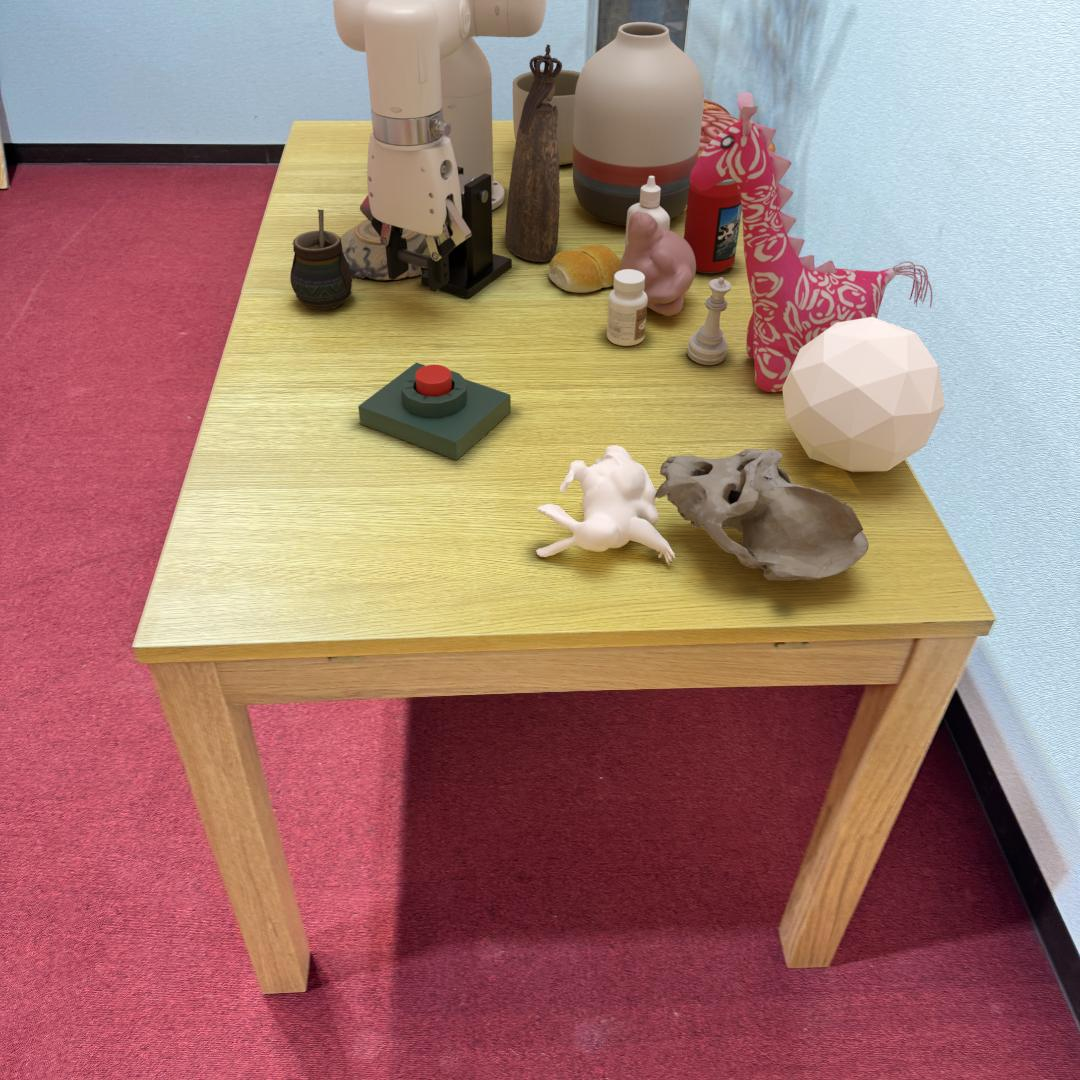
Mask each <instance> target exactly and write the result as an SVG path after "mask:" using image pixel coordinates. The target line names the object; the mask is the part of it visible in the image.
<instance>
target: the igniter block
mask: <svg viewBox="0 0 1080 1080" xmlns="http://www.w3.org/2000/svg"><path fill="white" fill-rule="evenodd" d="M424 366H426V365H425V364H423V363H419V362H415V363H413V364H412V365H411V366H409V367H407V368H406V369H405V370H404V371H403V372H402V373H400V374H398V375H397V376H396V377H395V378H394V379H392V380H391V381H390V382H388V383H387V384H386V385H384V386H383V387H381V388H380V389H379V390H378V391H376V392H375V393H373V394H372V395H371V396H370V397H369V398H367V399H366V400H365V401H363V402H362V403H360V404H359V405H358V406H357V407H358V416H359V424H360V425H362V426H365V427H368V428H370V429H373V430H376V431H379V432H381V433H383V434H386V435H389V436H391V437H394V438H397V439H399V440H402V441H405V442H407V443H410V444H413V445H416V446H418V447H420V448H424V449H426V450H428V451H431V452H433V453H436V454H439V455H442V456H445V457H447V458H449V459H451V460H454V461H457V460H459V459H460V458H461V457H463V455H465V453H467V451H469V450H470V449H471V448H473V446H474V445H475V444H477V443H478V442H479V441H480V440H481V439H482V438H483V437H484V436H486V435H487V434H488V433H489V432H490V431H491V430H492V429H494V428H495V427H496V426H497V425H498V424H499V423H500V422H501V421H503V420H504V418H506V417H507V416H508V415H509V414H511V413H512V409H511V407H512V406H511V404H512V403H511V402H512V401H511V399H512V397H511V394H509V393H507V392H504V391H501V390H498V389H495V388H492V387H490V386H487V385H484V384H481V383H478V382H475V381H472V380H469V379H466V378H465V377H463V375H462V374H461V373H460V372H457V371H453V370H451V369H449V370H450V371H451V377H452V390H451V391H450V392H449V393H448V394H445V395H442V396H438V397H433V396H424V395H421V394H419V393H418V392H417V389H416V377H415V374H416V372H417V370H418V369H420V368H422V367H424Z"/></svg>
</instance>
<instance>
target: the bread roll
mask: <svg viewBox="0 0 1080 1080" xmlns="http://www.w3.org/2000/svg"><path fill="white" fill-rule="evenodd" d="M621 262H622V261H621V259H620V258H619V256H618V255H617V254H616V253H615V252H614V251H613V250H612V249H611V248H608V247H606V246H605V245H599V244H597V245H595V244H594V245H591V244H590V245H583V246H578V247H576V248H575V249H573V250H572V249H570V250H563V251H559V252H556V255H555V256H554V257H553V259H551V260H550V262H549V264H548V277H549V279H550V280H551V281H552V282H553V283H554V285H556V286H557V287H558V288H559V289H562V290H564V291H565V292H568V293H569V292H570V293H582V294H583V293H591V292H595V291H599V290H601V289H602V288H606V289H607V288H610V287H614V285H613V283H614V275H615V273H616V272H618V271H620V270H621Z"/></svg>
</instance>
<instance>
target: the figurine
mask: <svg viewBox="0 0 1080 1080" xmlns="http://www.w3.org/2000/svg"><path fill="white" fill-rule="evenodd" d="M657 226H658V224H657V222H656V220H655V219H654V218H653V217H652V216H651V215H649V214H648V213H643V212H639V211H638V212H635V213H633V214H632V216H631V217H630V221H629V226H628V242H629V243H628V245H627V248H626V250H625V249H624V251H623V254H622V258H621V261H620V262H621V270H625V269H632V270H637V271H640V272H642V273H643V274H644V276H645V286H644V290H643V291H644V292H645V293H646V294H647V297H648V302H647V309H650V310H652V311H654V312H656V313H657V314H660V315H663V316H665V317H670V316H675V315H677V314H678V313H680V312H681V311H682V309H683V308H684V302H685V297H686V294H687V292H688V291H689V290H690V289H691V286H692V284H693V282H694V280H695V276H696V272H697V271H696V261H695V256H694V253H693V250H692V248H691V247H690V245H689V244H688V242H687V241H686V240H685V239H684V236H681V235H680V234H679V233H677V232H675V231H673V230H671V229H670V230H666V229H659V228H658V227H657Z"/></svg>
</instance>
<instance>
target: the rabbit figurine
mask: <svg viewBox="0 0 1080 1080" xmlns="http://www.w3.org/2000/svg"><path fill="white" fill-rule="evenodd" d="M574 480H577V481H578V482H579V483H580V489H581V492H582V494H583V496H581V502H580V506H581V508H582V513H583V521H579V520H578V521H577V520H576V519H575V518H573V517H571V516H570V515H569V514H568V513H567V512H566V511H565V510H564V509H563V508H562V507H561V506H559V505H557V504H554V503H547V504H542V505H539V506H538V507H536V511H538V512H539V513H541V514H542V515H544V516H545V517H547V518H549V519H550V520H552V521H553V522H554V523H555V524H557V525H559V526H560V527H562V528H564V529H566V530H568V531H570V532H571V533H572V536H569V537H565V538H563V539H560V540H558V541H556V542H553V543H552V544H549V545H547V546H544V547H539V548H537V549H536V551H535V552H536V555H538V557H541V558H547V557H551V556H552V557H553V556H554V555H556V554H558V553H561V552H564V551H566V550H568V549H571V548H573V547H574V548H575V547H578V548H580V549H583V550H587V551H590V552H597V553H598V552H599V553H600V552H605V551H608V550H609V549H619V548H623V546H625V545H627V544H628V543H629V542H630V541H631V542H635V543H638V544H641V545H644V546H646V547H648V548H650V549H652V550H654V551H655V552H656V553H659V554H658V556H657V557H658V559H661V558H662V557H663V556H664V559H665V562H666V563H667V564H668V565H671V564H670V562H671V563H673V559H676V556H675V555H676V554H675V552H674V551H673V549H672V548H671V546H670V543H669V542H668V541H667V540H666V539H665V538H664V537H663V535H661V533H660V532H659V531H658V530H657V528H655V526H656V525H657V524H658V522H659V519H660V513H659V512H658V509H657V507H656V506H655V502H656V500H657V498H656V497H655V495H656V493H657V490H656V488H655V486H654V484H653V482H652V480H651V477H650V476H649V474H648V471H647V470H646V468H645V467H644V465H642V463H639V462H637V461H634V459H633V458H632V455H631V454H630V453H629V452H628V450H627V449H625V448H624V447H622V446H621V445H616V444H613V445H608V446H607V447H606V448H605V449H604V451H603V455H601V457H599V458H598V459H595V460H594V461H593V464H592V465H590V466H587V464H586V462H585V461H584V460H579V459H578V460H573V461H571V462H570V463H569V465H568V468H567V474H566V475H565V477H564V480H562V482H561V484H560V486H559V491H560V492H561V493H565V492H567V490H568V488H569V486H570V484H571V483H572V482H573V481H574Z"/></svg>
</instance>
